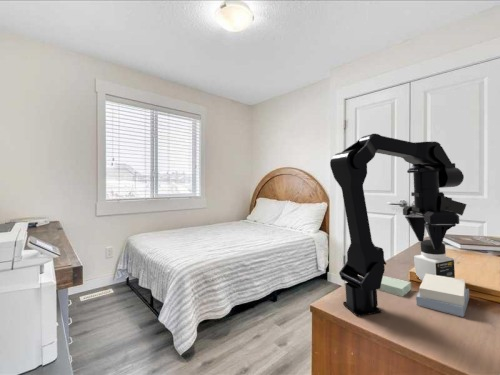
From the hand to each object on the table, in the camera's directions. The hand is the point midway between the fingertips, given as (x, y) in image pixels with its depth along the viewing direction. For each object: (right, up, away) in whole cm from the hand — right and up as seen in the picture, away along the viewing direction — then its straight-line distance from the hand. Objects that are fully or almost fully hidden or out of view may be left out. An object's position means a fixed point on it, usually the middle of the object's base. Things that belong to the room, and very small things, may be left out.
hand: (428, 245), depth 69 cm
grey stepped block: (0, -13, -6) cm, 14 cm away
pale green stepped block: (-9, -14, +4) cm, 17 cm away
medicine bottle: (+7, -12, +7) cm, 16 cm away
